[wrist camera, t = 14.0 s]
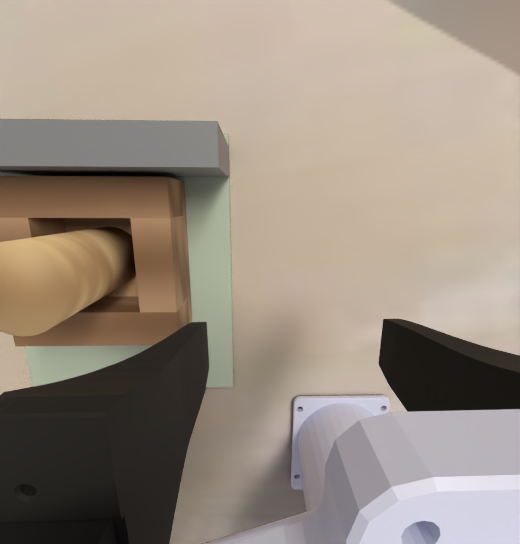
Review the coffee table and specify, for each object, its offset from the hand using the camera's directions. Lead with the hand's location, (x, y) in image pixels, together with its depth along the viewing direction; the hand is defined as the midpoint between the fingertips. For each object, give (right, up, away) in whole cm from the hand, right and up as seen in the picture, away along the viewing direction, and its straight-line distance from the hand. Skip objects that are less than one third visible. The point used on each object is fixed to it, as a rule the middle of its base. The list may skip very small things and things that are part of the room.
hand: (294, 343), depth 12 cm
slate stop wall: (-12, +10, +8) cm, 17 cm away
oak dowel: (-11, +4, +8) cm, 14 cm away
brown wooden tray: (-12, +4, +9) cm, 15 cm away
